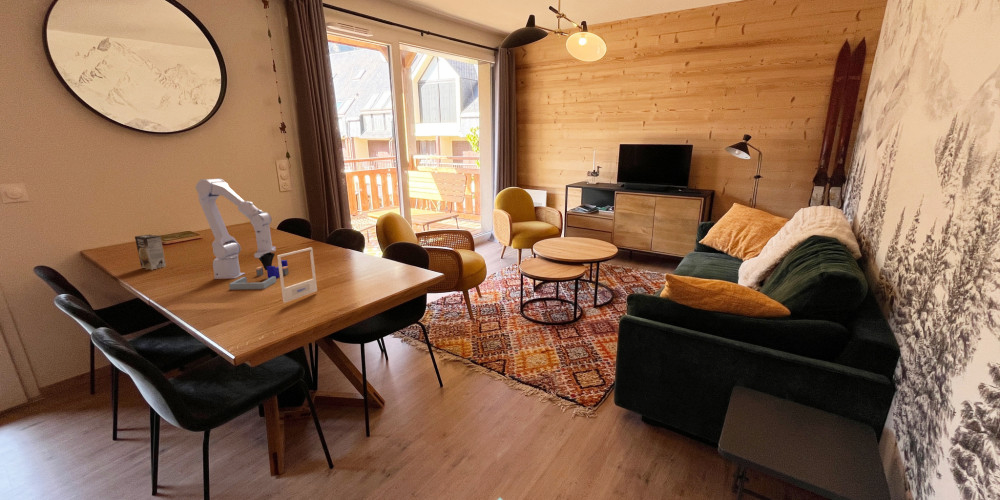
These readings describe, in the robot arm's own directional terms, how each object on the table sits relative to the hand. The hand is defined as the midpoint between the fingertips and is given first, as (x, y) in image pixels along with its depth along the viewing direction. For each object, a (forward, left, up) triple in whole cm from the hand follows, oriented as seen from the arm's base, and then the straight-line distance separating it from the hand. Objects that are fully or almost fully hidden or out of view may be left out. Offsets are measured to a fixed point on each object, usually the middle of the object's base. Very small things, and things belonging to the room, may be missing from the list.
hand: (268, 269), depth 180 cm
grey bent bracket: (0, -12, -3) cm, 13 cm away
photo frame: (+26, -28, -4) cm, 38 cm away
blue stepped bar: (+2, +2, -4) cm, 5 cm away
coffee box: (-65, +20, -4) cm, 68 cm away
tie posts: (0, +4, -3) cm, 5 cm away
